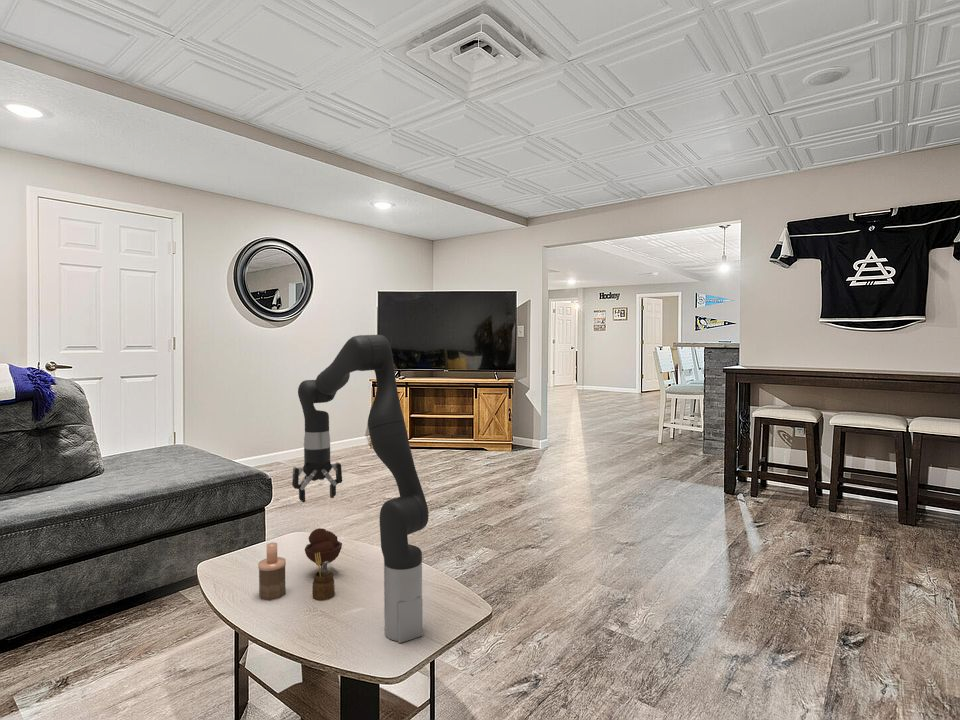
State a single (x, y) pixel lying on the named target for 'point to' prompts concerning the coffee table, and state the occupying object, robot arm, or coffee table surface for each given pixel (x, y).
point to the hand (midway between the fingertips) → (317, 499)
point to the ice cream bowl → (323, 546)
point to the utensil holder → (323, 582)
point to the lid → (271, 559)
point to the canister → (272, 584)
